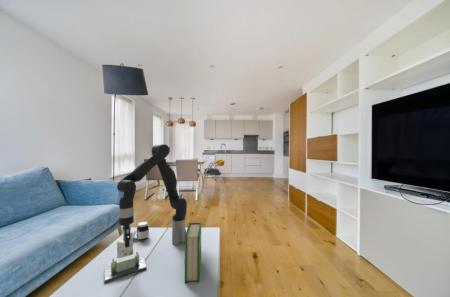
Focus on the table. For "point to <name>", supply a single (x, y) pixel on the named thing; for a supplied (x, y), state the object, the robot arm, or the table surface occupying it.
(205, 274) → the table surface
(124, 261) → the green tabbed block
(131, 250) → the ink cartridge box
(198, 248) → the hardback book
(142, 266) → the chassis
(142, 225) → the spread jar
